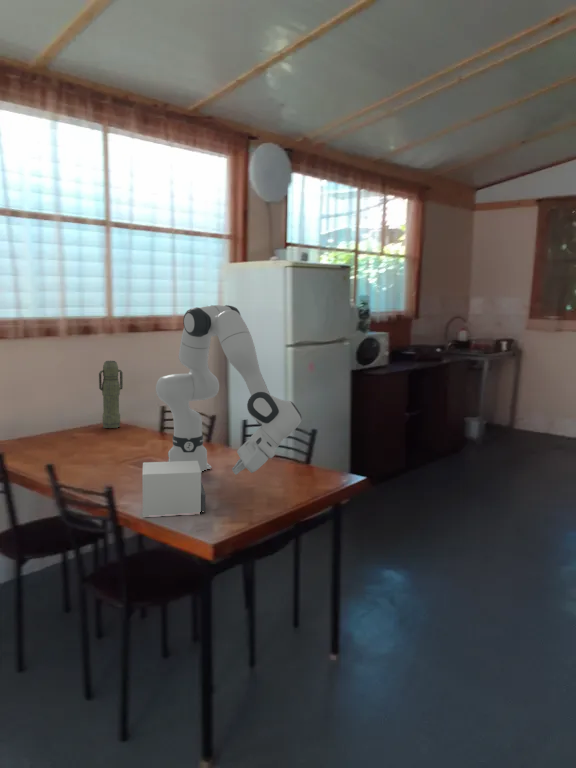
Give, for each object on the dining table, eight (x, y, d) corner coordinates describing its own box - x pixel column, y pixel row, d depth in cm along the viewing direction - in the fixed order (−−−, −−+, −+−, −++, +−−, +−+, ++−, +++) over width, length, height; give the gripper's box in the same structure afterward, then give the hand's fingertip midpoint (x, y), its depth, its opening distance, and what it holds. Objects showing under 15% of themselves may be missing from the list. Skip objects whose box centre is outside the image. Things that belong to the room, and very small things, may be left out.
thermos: (97, 426, 317) (96, 360, 312) (119, 424, 324) (118, 359, 319) (103, 430, 310) (101, 362, 305) (125, 427, 317) (124, 361, 312)
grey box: (143, 503, 201) (142, 462, 199) (197, 500, 205) (197, 460, 203) (142, 518, 188) (142, 474, 186) (200, 514, 192) (201, 472, 190)
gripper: (251, 429, 210) (223, 457, 209) (262, 443, 190) (231, 474, 189) (264, 441, 211) (236, 469, 210) (275, 456, 191) (244, 487, 191)
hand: (233, 472), depth 200 cm, fingers closed
